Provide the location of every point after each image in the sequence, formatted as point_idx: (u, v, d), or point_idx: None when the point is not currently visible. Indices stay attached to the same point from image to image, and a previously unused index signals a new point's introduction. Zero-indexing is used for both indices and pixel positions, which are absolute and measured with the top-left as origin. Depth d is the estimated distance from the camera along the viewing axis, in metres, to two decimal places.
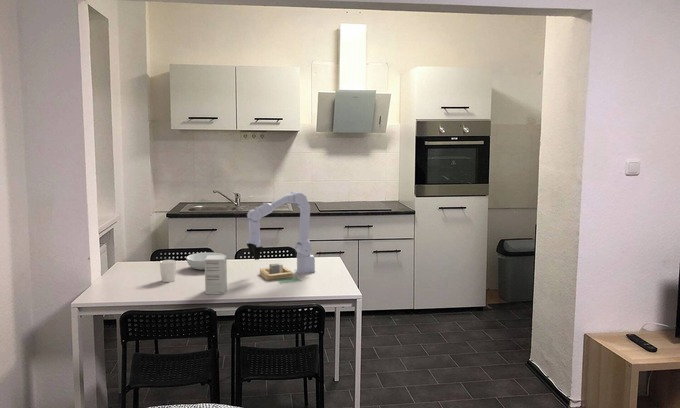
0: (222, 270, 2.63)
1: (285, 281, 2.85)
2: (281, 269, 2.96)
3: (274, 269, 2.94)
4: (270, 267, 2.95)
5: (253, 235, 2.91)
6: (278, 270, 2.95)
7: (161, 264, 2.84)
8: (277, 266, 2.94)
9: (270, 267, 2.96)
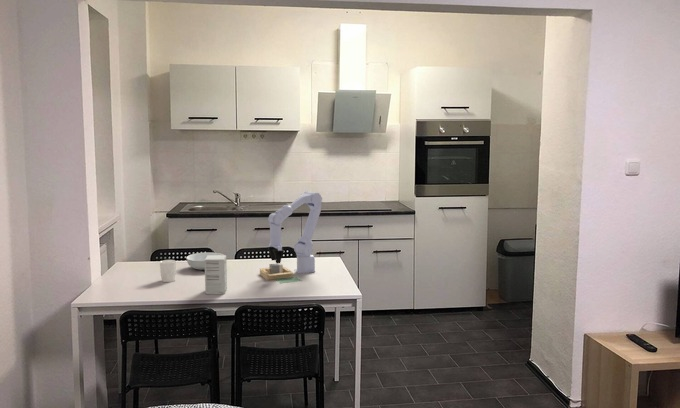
0: (222, 270, 2.63)
1: (285, 281, 2.85)
2: (281, 269, 2.96)
3: (274, 269, 2.94)
4: (270, 267, 2.95)
5: (275, 239, 2.92)
6: (278, 270, 2.95)
7: (161, 264, 2.84)
8: (277, 266, 2.94)
9: (270, 267, 2.96)
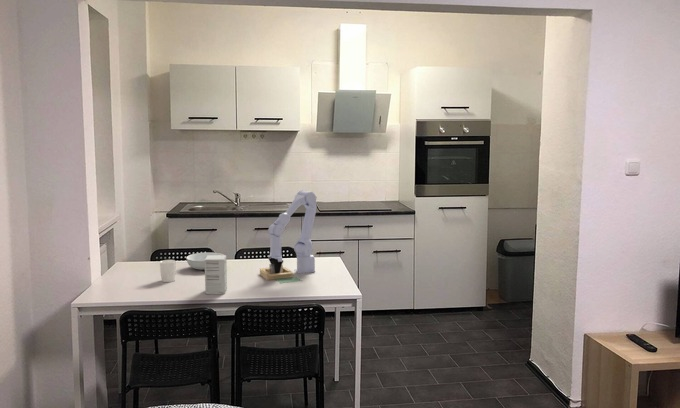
0: (222, 270, 2.63)
1: (285, 281, 2.85)
2: (281, 269, 2.96)
3: (274, 269, 2.94)
4: (270, 267, 2.95)
5: (275, 250, 2.92)
6: None
7: (161, 264, 2.84)
8: None
9: (270, 267, 2.96)
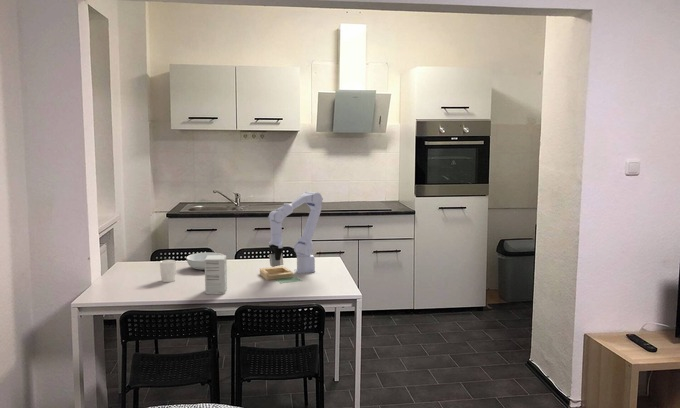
0: (222, 270, 2.63)
1: (285, 281, 2.85)
2: (281, 258, 2.94)
3: (274, 259, 2.93)
4: (270, 257, 2.94)
5: (276, 236, 2.91)
6: None
7: (161, 264, 2.84)
8: None
9: (270, 257, 2.94)
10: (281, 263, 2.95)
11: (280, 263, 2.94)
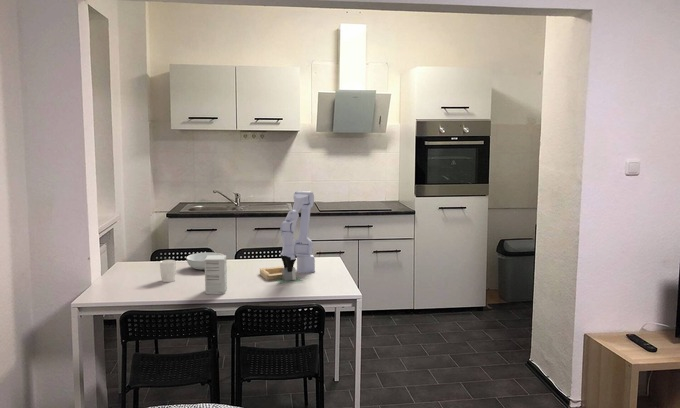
0: (222, 270, 2.63)
1: (285, 281, 2.85)
2: (294, 272, 2.87)
3: (287, 273, 2.85)
4: (282, 271, 2.87)
5: (288, 247, 2.83)
6: (291, 274, 2.86)
7: (161, 264, 2.84)
8: None
9: (282, 271, 2.87)
10: (294, 277, 2.87)
11: (293, 277, 2.87)
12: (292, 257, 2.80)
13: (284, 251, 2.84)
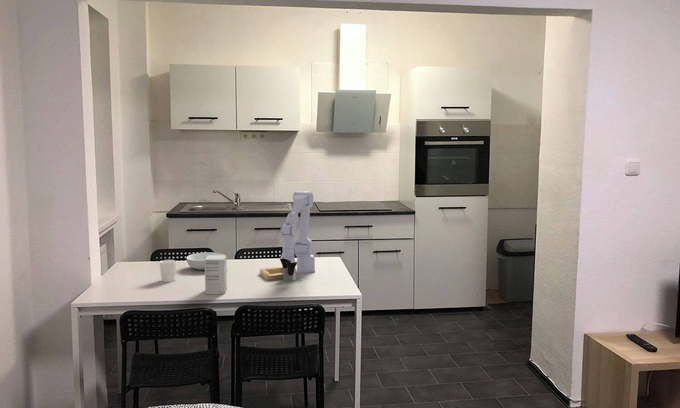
0: (222, 270, 2.63)
1: (285, 281, 2.85)
2: (294, 273, 2.87)
3: (287, 273, 2.85)
4: (283, 271, 2.87)
5: (288, 250, 2.84)
6: None
7: (161, 264, 2.84)
8: None
9: (283, 271, 2.87)
10: (294, 278, 2.87)
11: (293, 278, 2.87)
12: (292, 260, 2.80)
13: (284, 254, 2.84)
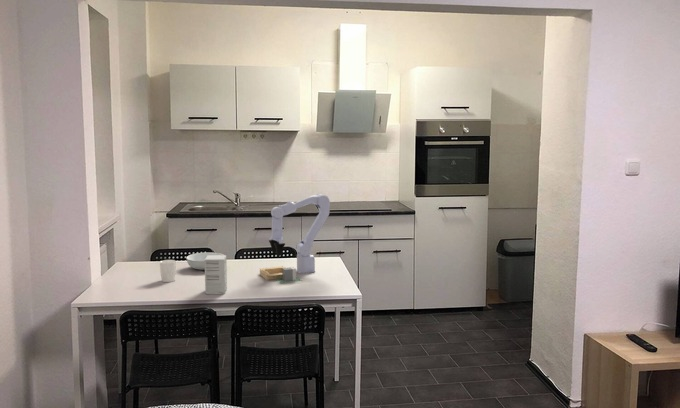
0: (222, 270, 2.63)
1: (285, 281, 2.85)
2: (294, 273, 2.87)
3: (287, 273, 2.85)
4: (283, 271, 2.87)
5: (276, 232, 2.98)
6: (291, 274, 2.86)
7: (161, 264, 2.84)
8: (290, 270, 2.86)
9: (283, 271, 2.87)
10: (294, 278, 2.87)
11: (293, 278, 2.87)
12: (280, 241, 2.94)
13: (273, 235, 2.99)
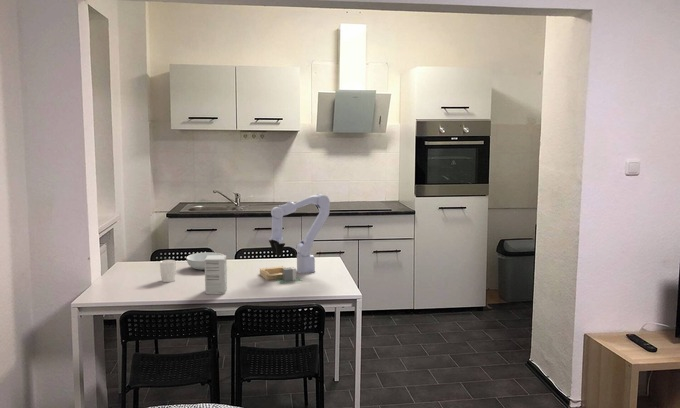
0: (222, 270, 2.63)
1: (285, 281, 2.85)
2: (294, 273, 2.87)
3: (287, 273, 2.85)
4: (283, 271, 2.87)
5: (276, 232, 2.98)
6: (291, 274, 2.86)
7: (161, 264, 2.84)
8: (290, 270, 2.86)
9: (283, 271, 2.87)
10: (294, 278, 2.87)
11: (293, 278, 2.87)
12: (280, 241, 2.94)
13: (273, 235, 2.99)
